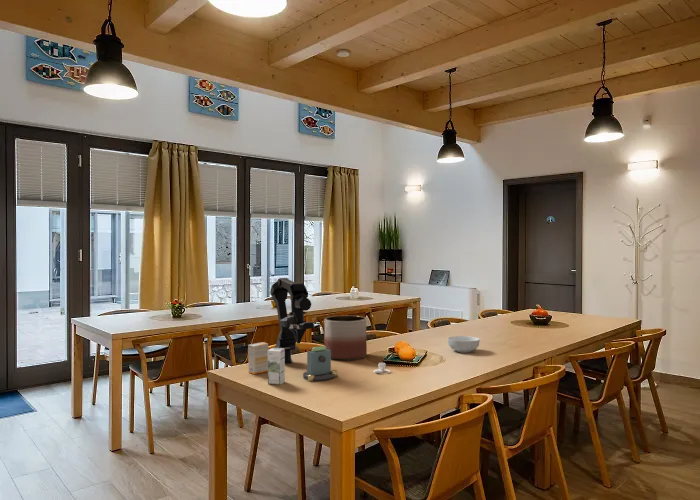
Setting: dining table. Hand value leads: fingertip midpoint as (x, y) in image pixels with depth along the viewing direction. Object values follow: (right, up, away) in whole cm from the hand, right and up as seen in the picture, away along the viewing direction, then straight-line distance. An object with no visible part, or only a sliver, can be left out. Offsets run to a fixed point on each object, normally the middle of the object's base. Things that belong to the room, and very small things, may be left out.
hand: (298, 343), depth 235 cm
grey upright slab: (+11, -11, -13) cm, 20 cm away
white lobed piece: (+36, -13, -3) cm, 38 cm away
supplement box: (-18, -13, -3) cm, 22 cm away
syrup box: (-7, -13, -21) cm, 26 cm away
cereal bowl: (+86, -12, +39) cm, 95 cm away
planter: (+22, -12, +28) cm, 38 cm away
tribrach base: (+10, -13, -12) cm, 20 cm away
